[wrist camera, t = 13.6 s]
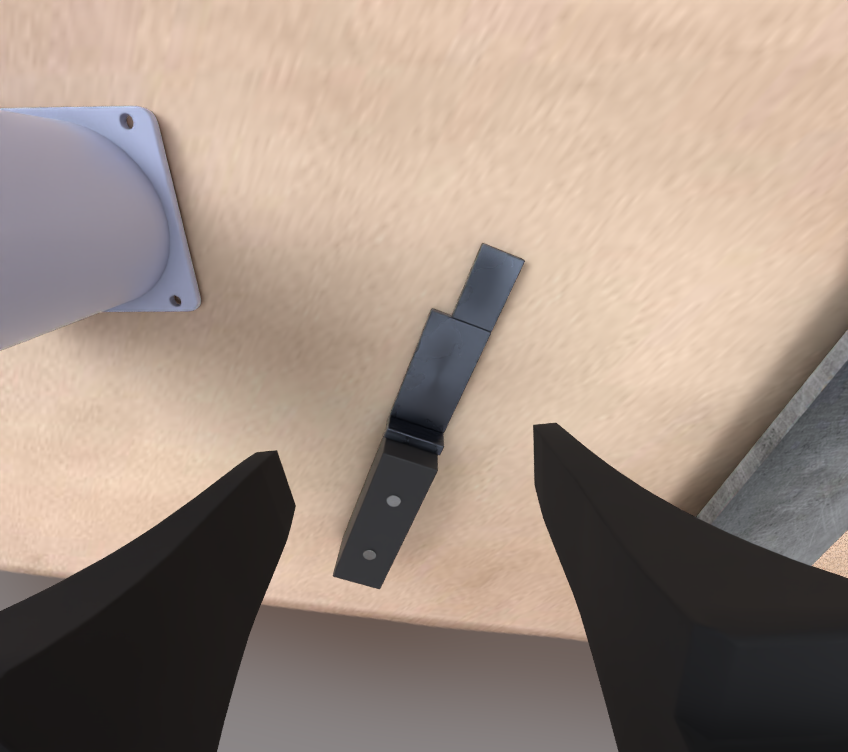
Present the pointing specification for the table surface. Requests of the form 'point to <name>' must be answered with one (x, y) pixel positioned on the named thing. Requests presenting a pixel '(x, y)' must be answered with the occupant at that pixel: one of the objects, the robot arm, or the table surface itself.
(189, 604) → the robot arm
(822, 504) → the meat cleaver
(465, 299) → the knife
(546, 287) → the table surface
